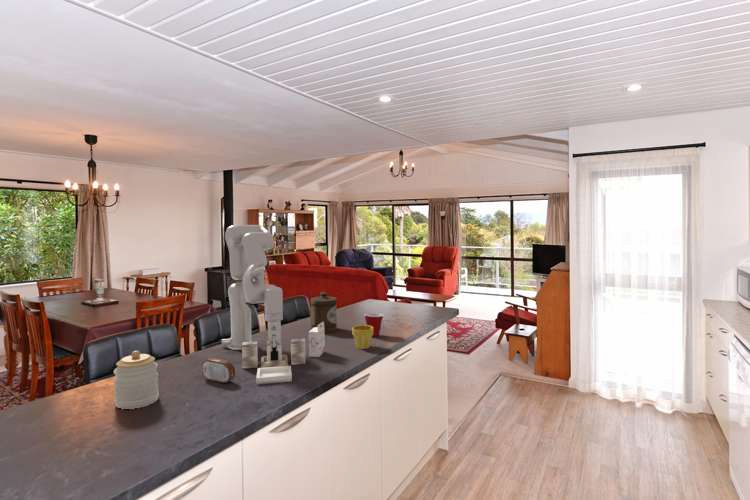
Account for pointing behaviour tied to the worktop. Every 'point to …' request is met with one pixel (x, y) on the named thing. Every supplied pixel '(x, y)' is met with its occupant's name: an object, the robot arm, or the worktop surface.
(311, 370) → the worktop surface
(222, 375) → the tin
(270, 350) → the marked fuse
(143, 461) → the worktop surface
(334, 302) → the wooden container
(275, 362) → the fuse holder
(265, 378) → the tray
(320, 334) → the ink cartridge box
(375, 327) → the plastic cup
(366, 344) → the plant pot
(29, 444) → the worktop surface
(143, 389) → the jar
